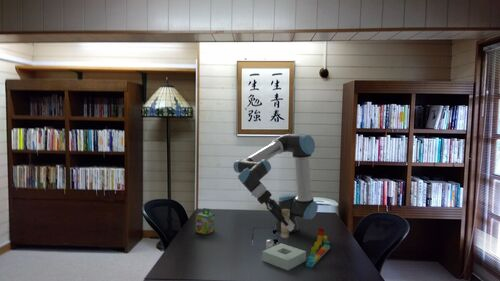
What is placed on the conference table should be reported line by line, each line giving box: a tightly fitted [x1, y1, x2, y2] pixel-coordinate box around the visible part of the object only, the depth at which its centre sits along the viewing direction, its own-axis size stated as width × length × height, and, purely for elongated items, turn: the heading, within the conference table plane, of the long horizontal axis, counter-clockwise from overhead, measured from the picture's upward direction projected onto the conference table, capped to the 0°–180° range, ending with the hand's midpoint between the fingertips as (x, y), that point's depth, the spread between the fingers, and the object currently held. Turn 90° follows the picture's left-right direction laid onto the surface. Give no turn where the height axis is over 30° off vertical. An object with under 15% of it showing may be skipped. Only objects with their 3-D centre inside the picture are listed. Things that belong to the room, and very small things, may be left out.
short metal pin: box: [265, 238, 274, 250], centre depth 188 cm, size 4×4×5 cm
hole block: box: [261, 243, 307, 271], centre depth 173 cm, size 16×16×5 cm
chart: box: [305, 227, 331, 269], centre depth 179 cm, size 30×3×15 cm, turn 150°
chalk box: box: [194, 207, 216, 236], centre depth 213 cm, size 9×9×15 cm
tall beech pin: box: [280, 209, 290, 239], centre depth 171 cm, size 4×4×14 cm
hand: (292, 228), depth 171 cm, fingers closed on tall beech pin, 4 cm apart
